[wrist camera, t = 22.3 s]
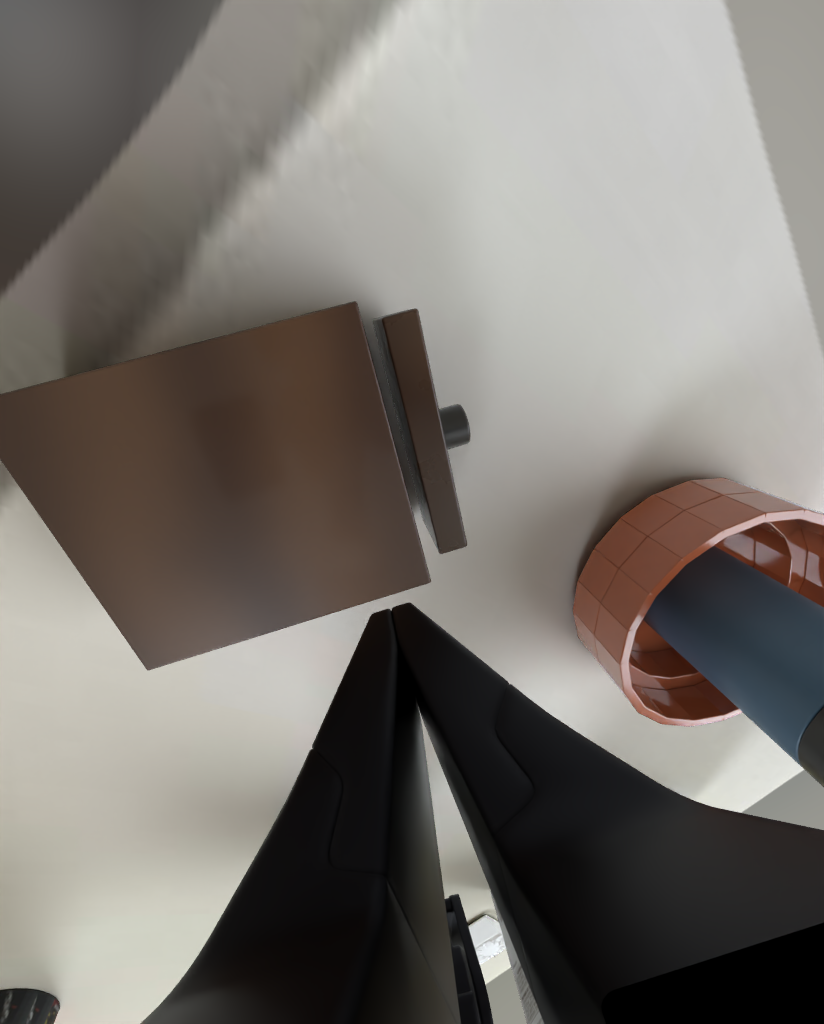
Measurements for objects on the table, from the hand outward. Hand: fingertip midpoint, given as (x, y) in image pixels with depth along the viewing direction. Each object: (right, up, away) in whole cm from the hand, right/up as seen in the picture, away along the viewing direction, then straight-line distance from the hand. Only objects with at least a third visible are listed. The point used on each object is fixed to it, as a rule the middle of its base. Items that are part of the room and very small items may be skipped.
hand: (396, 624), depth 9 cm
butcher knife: (+2, -39, +30) cm, 50 cm away
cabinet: (-6, +4, +10) cm, 12 cm away
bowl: (+16, -2, +17) cm, 23 cm away
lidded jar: (+16, -2, +16) cm, 23 cm away
